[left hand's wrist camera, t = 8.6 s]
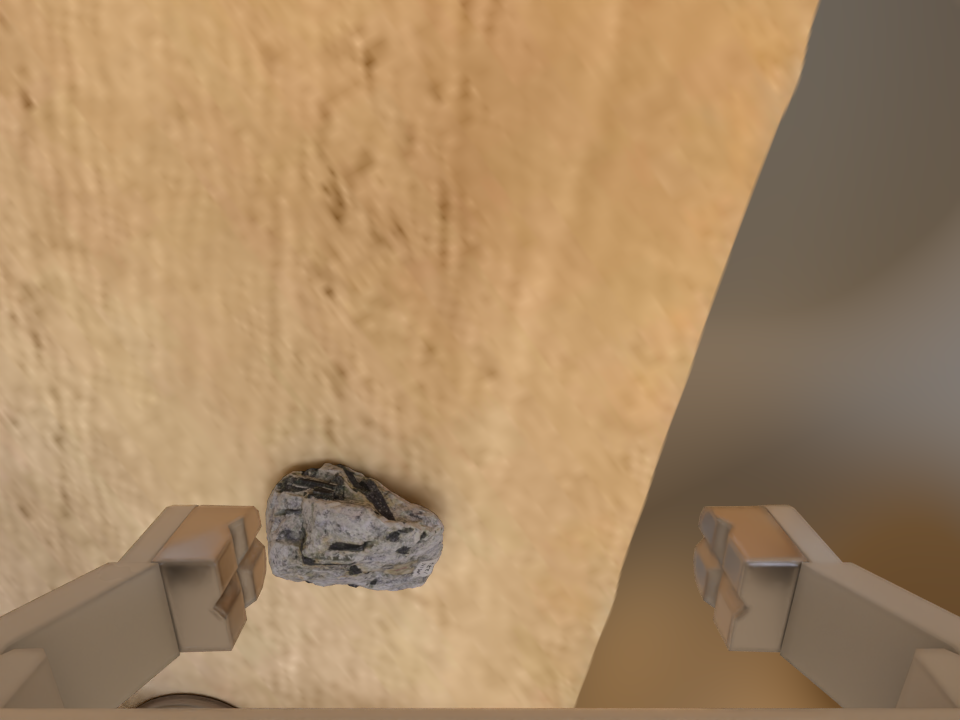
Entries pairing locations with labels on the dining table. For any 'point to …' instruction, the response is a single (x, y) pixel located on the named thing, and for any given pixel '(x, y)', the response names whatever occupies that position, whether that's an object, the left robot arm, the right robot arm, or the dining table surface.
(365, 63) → the dining table surface
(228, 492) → the dining table surface
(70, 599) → the left robot arm
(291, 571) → the rock
